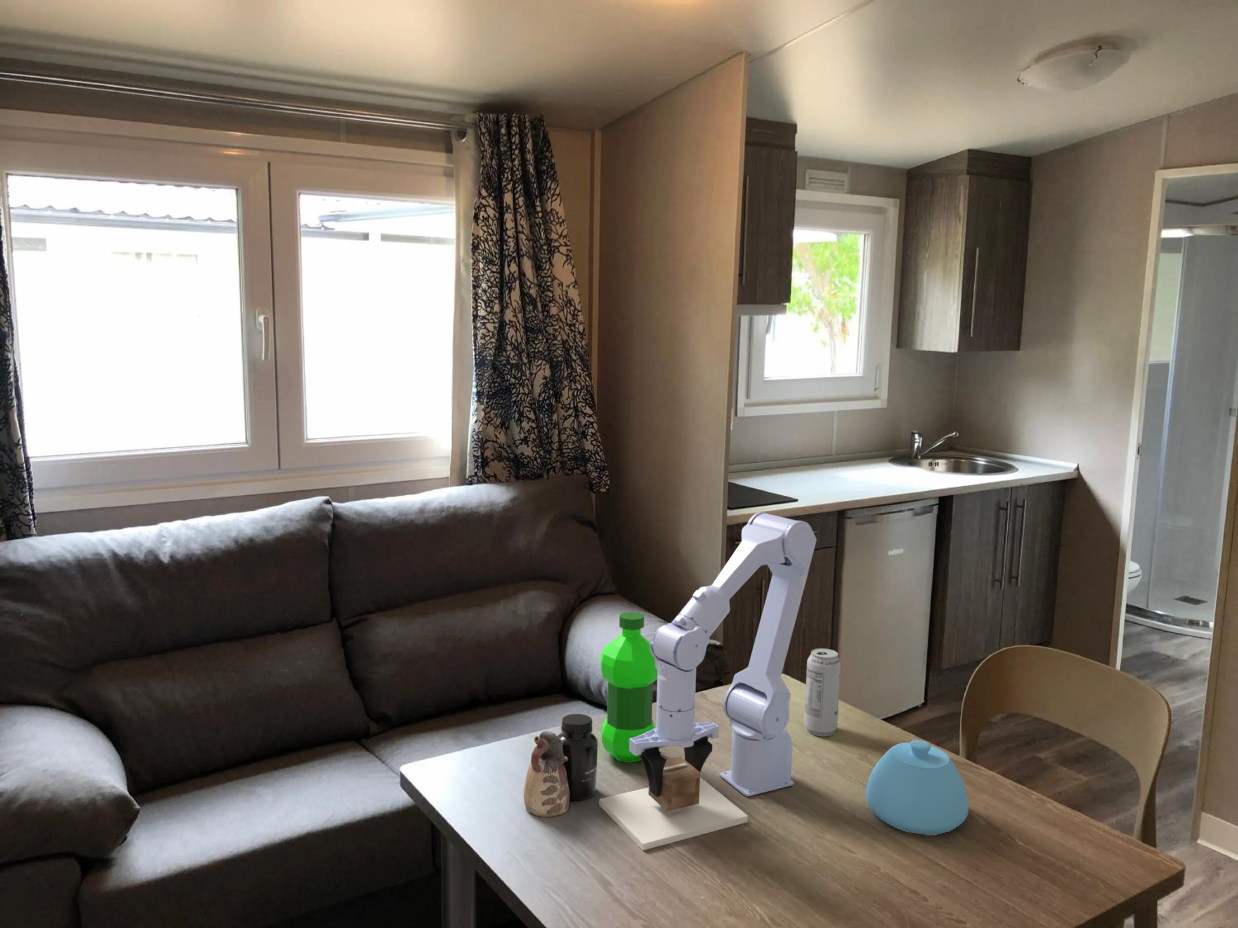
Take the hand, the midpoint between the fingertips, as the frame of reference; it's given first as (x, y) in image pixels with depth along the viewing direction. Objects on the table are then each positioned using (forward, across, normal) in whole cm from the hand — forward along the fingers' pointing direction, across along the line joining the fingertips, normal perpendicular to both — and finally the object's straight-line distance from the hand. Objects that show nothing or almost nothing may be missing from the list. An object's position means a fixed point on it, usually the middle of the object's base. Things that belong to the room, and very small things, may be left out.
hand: (673, 789), depth 142 cm
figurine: (+4, -16, +10) cm, 20 cm away
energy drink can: (+4, +40, +14) cm, 43 cm away
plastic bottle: (+4, +3, +20) cm, 21 cm away
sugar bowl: (+4, +34, -16) cm, 38 cm away
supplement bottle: (+4, -11, +12) cm, 17 cm away
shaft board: (+4, 0, 0) cm, 4 cm away
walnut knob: (+2, 0, 0) cm, 2 cm away
